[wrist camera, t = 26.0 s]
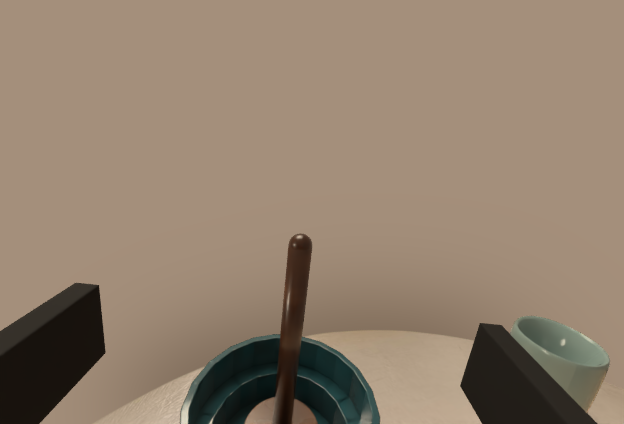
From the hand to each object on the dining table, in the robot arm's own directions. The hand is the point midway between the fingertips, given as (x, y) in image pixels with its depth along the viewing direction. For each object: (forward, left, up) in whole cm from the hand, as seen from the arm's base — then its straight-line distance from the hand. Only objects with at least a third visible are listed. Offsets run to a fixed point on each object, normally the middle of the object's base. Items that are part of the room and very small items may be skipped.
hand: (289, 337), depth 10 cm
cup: (+22, +23, -21) cm, 39 cm away
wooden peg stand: (-2, +9, -20) cm, 22 cm away
